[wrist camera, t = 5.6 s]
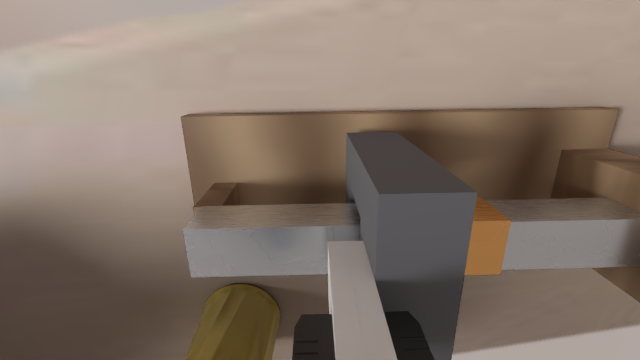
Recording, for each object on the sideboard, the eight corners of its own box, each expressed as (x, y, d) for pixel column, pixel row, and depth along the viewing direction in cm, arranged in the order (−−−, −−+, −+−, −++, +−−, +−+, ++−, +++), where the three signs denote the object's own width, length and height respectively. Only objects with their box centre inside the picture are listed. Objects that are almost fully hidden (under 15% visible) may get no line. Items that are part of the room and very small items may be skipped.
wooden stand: (209, 261, 24) (153, 366, 16) (187, 114, 21) (99, 145, 12) (563, 253, 25) (696, 350, 16) (602, 107, 21) (801, 132, 12)
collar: (344, 262, 22) (368, 406, 13) (346, 132, 19) (379, 194, 10) (388, 261, 22) (444, 404, 13) (396, 131, 19) (477, 192, 10)
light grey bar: (208, 249, 18) (190, 282, 15) (202, 202, 17) (180, 227, 14) (592, 240, 18) (642, 270, 16) (607, 194, 17) (661, 217, 15)
